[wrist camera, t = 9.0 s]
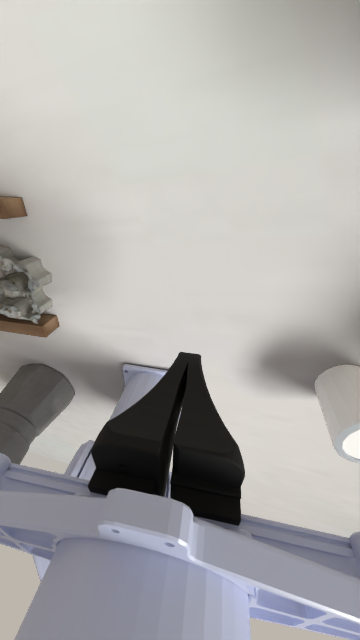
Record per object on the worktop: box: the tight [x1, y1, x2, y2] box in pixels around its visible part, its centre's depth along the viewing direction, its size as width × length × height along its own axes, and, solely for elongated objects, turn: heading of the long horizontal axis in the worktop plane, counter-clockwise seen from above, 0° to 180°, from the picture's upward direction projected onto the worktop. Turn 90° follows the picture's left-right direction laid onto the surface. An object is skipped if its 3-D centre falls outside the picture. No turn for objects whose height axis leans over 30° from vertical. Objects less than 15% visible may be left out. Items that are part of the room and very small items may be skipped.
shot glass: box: [315, 364, 360, 463], centre depth 22 cm, size 7×7×7 cm
